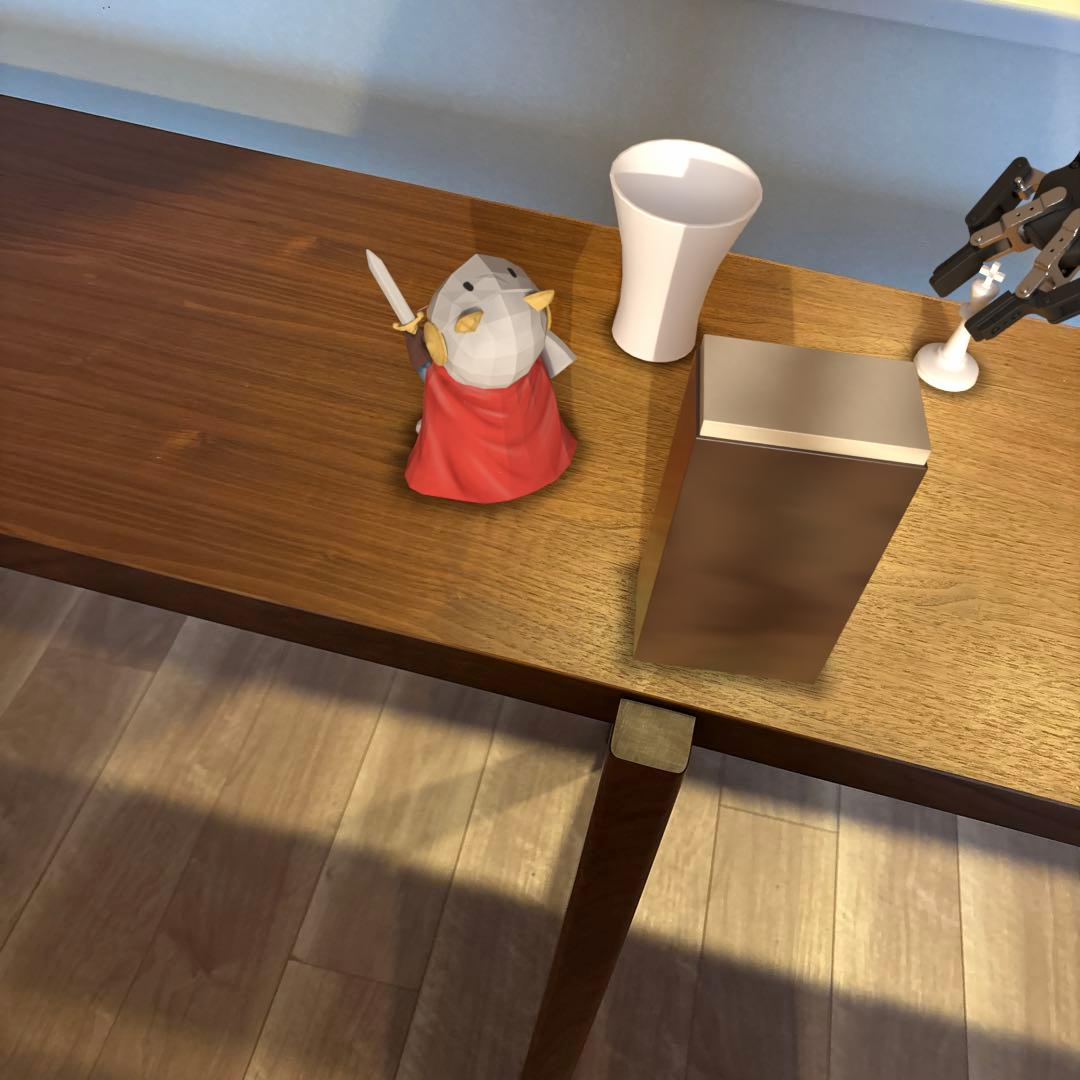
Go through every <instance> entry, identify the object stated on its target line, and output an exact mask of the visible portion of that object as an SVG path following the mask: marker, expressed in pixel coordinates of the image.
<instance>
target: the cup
mask: <svg viewBox="0 0 1080 1080" xmlns="http://www.w3.org/2000/svg"><path fill="white" fill-rule="evenodd" d="M609 180H610V185H611V190H612V196H613V201H614V206H615V207H614V208H615V212H616V218H617V224H618V231H619V236H620V243H621V264H622V265H621V267H622V278H621V286H620V287H621V288H620V295H619V296H620V297H619V301H618V305H617V308H616V312H615V315H614V318H613V322H612V326H611V333H612V337H613V340H614V341H615V342H616V344H617V345H618V347H620V348H621V350H623V351H624V352H626V353H627V354H629V355H630V356H632V357H635V358H637V359H640V360H643V361H647V362H652V363H669V362H674V361H678V360H679V359H682V358H684V357H686V356H687V355H689V354H690V353H691V352H692V351H693V349H694V348H695V345H696V341H697V340H696V339H697V331H698V325H699V324H698V323H699V317H700V314H701V310H702V308H703V306H704V302H705V300H706V299H705V298H706V296H707V293H708V290H709V288H710V286H711V283H712V282H713V279H714V277H715V275H716V274H717V271H718V269H719V267H720V265H721V263H722V262H723V261H724V259H725V258H726V256H727V255H728V253H729V252H730V251H731V248H732V247H733V246H734V244H735V243H736V241H737V239H738V238H739V236H740V235H741V234H742V232H743V231H744V229H745V227H746V226H747V225H748V223H749V222H750V221H751V220H752V218H753V216H754V214H755V213H756V212H757V211H758V209H759V208H760V205H761V204H762V202H763V192H764V190H763V189H764V188H763V186H762V184H761V182H760V178H759V176H758V175H757V173H756V172H755V171H754V170H753V169H752V168H751V167H750V165H748V164H747V163H746V162H745V161H743V160H742V159H740V158H739V157H738V156H736V155H734V154H732V153H731V152H729V151H727V150H724V149H722V148H720V147H717V146H714V145H711V144H708V143H706V142H701V141H695V140H689V139H684V138H660V139H652V140H645V141H643V142H640V143H639V142H638V143H636V144H633V145H631V146H630V147H628V148H627V149H624V150H623V151H622V152H620V153H619V154H618V155H617V156H616V158H615V159H614V160H613V161H612V163H611V167H610V171H609Z"/></svg>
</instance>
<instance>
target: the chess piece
mask: <svg viewBox="0 0 1080 1080" xmlns="http://www.w3.org/2000/svg"><path fill="white" fill-rule="evenodd" d="M1001 265H1002V263H1001V262H998V261H996V260H994V263H992V266H991V267H990V266H988V265H986V264H984V265H983V266H982V267H981V269H980V272H979V273H980V274H982V275H984V276H986V277H977V278H975V279H973V280H972V282H971V284H970V297H969V301H968V302H967V301H966V302H963V303H962V304H961V305H960V306H958V309H957V312H958V314H959V316H960V317H961V318H962V319H961V320H960V322H959V324H958V325H957V326H956V328H955V329H954V331H953V332H952V334H951V335H950V337H949V338H948V340H946V342H932V343H928V344H925V345H923V346H922V347H921V348H920V349H918V351H917V353H916V354H915V355H914V357H913V361H912V362H916V366H917V372H918V377H919V378H921V380H922V381H924V382H925V383H927V384H928V385H930V386H932V387H934V388H936V389H938V390H942V391H947V392H964V391H967V390H969V389H971V388H972V387H974V386H975V384H976V383H977V380H978V376H979V373H980V370H979V369H980V368H979V365H978V362H977V361H976V359H975V358H974V357H973V356H972V355H971V354H970V353H969V352H967V350H968V346H969V344H970V343H969V342H970V340H971V338H972V337H971V335H970V334H969V333H968V331H967V330H966V328H965V327H964V324H965V322H966V321H967V320H968V319H969V318H971V317H972V316H973V315H975V314H976V313H978V312H979V311H980V310H982V309H983V308H984V307H986V306H987V305H988V304H990V303H991V302H993V301H994V300H995V299H996V297H997V296H998V295H999V294H1000V292H1001V288H1000V286H999V285H998V283H1002V282H1003V281H1004V280H1005V277H1006V275H1007V274H1005V273H1003V272H1001V271H999V269H1000V267H1001ZM979 273H978V274H979ZM994 280H995V281H997V282H998V283H997V282H995V281H994Z"/></svg>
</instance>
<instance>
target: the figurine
mask: <svg viewBox="0 0 1080 1080" xmlns="http://www.w3.org/2000/svg"><path fill="white" fill-rule="evenodd" d="M365 254H366V259H367V265H368V268H369V270H370V272H371V274H372V275H373V277H374V279H375V280H376V282H377V283H378V285H379V287H380V290H382V292H383V294H384V296H385V297H386V299H387V301H388V302H389V304H390V306H391V307H392V309H393V311H394V313H395V314H396V316H397V317H398V320H399V321H400V322H398V321H394V322H393V323H392V328H393V329H394V330H396V331H401V332H402V335H403V337H404V338H405V343H406V349H407V353H408V358H409V362H410V365H411V366H412V369H413V370H414V372H415V373H417V374H418V375H419V377H420V378H421V380H422V381H423V382H424V385H423V400H422V401H423V402H422V413H421V419H419V420H418V421H417V422H416V425H415V432H416V433H417V438H416V440H415V443H414V445H413V447H412V449H411V451H410V453H409V455H407V456H408V457H407V461H406V466H405V471H404V478H405V480H406V483H407V485H408V487H409V488H410V489H411V490H413V491H415V492H417V493H418V494H421V495H425V496H432V497H436V498H437V497H438V498H444V499H451V500H456V501H463V502H469V503H477V504H484V505H485V504H493V503H500V502H501V503H503V502H508V501H511V500H515V499H518V498H520V497H523V496H527V495H530V494H533V493H535V492H537V491H538V490H540V489H542V488H544V487H546V486H548V485H550V484H551V483H553V482H555V481H556V480H557V479H558V478H559V477H560V476H561V475H562V474H563V473H564V471H566V470H567V469H568V468H569V466H570V465H571V464H572V460H573V459H574V455H575V453H576V450H577V447H578V444H579V442H578V440H577V439H576V438H575V437H574V435H573V434H572V432H571V431H570V430H569V428H568V427H567V426H566V424H565V423H564V421H563V418H562V416H561V413H560V410H559V408H558V402H557V398H556V394H555V391H554V387H553V384H552V379H554V378H555V377H556V376H557V375H558V374H560V373H561V372H563V371H564V370H565V369H566V368H567V367H568V366H570V365H571V364H572V363H573V362H574V361H576V360H578V356H577V355H575V353H574V352H573V351H572V350H571V349H570V348H569V346H568V345H566V343H565V342H564V341H563V340H561V338H559V337H558V336H557V335H556V334H555V333H554V332H552V330H551V325H552V312H551V309H550V305H551V304H552V303H553V300H554V296H555V289H551V288H547V289H544V290H540V289H539V288H538V287H537V286H536V284H535V283H534V281H532V279H531V278H530V277H529V276H528V275H527V273H526V272H525V271H524V269H523V268H522V267H520V266H518V265H517V264H515V263H513V262H511V261H509V260H507V259H506V258H503V257H497V256H494V255H493V256H492V255H487V254H480V253H475V254H473V255H472V256H471V257H469V258H468V259H466V260H464V262H463V263H462V264H461V265H459V266H458V267H457V268H456V269H455V270H454V271H452V273H450V274H449V275H448V276H447V277H446V278H445V279H444V280H443V281H442V283H441V284H440V285H439V286H438V288H437V289H436V290H435V291H434V293H433V295H432V296H431V299H430V301H429V303H428V305H426V306H424V307H421V308H420V309H419V310H418V311H417V310H415V311H414V312H412V310H411V308H410V306H409V304H408V302H407V301H406V299H405V298H404V296H403V294H402V292H401V291H400V289H399V288H398V286H397V284H396V282H395V280H394V279H393V277H392V275H391V273H390V272H389V271H388V269H387V267H386V265H385V264H384V262H383V260H382V259H381V258H379V256H377V255H376V254H375V253H374V252H373V251H372V250H370V249H367V248H366V250H365ZM424 309H426V318H427V319H426V320H424V321H422V319H423V318H424V316H425V312H424V311H423V310H424ZM416 312H417V313H416ZM414 313H416V316H417V317H415V315H414ZM420 321H422V323H421V324H418V323H419V322H420ZM423 324H424V325H423ZM421 325H423V326H421Z"/></svg>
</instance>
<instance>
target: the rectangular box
mask: <svg viewBox="0 0 1080 1080" xmlns="http://www.w3.org/2000/svg"><path fill="white" fill-rule="evenodd" d="M922 394H923V393H922V389H921V383H920V376H919V375H918V372H917V366H916V362H913V361H911V360H901V359H894V358H887V357H879V356H873V355H864V354H858V353H850V352H844V351H843V352H842V351H835V350H827V349H820V348H814V347H805V346H799V345H798V346H797V345H791V344H783V343H776V342H768V341H761V340H753V339H746V338H738V337H731V336H724V335H716V334H709V333H704V334H703V337H702V341H701V344H700V347H699V346H697V347H696V348H695V350H694V354H693V358H692V362H691V366H690V369H689V373H688V378H687V382H686V386H685V389H684V393H683V396H682V401H681V405H680V409H679V411H678V412H679V413H678V417H677V421H676V424H675V428H674V432H673V436H672V439H671V444H670V447H669V450H668V451H669V452H668V455H667V459H666V463H665V467H664V470H663V475H662V478H661V482H660V486H659V490H658V494H657V498H656V502H655V506H654V510H653V513H652V517H651V521H650V524H649V525H650V526H649V529H648V532H647V537H646V540H645V544H644V549H643V552H642V556H641V559H640V563H639V568H638V572H637V575H636V576H637V577H636V593H635V610H634V611H635V614H634V630H633V631H634V632H633V649H632V660H633V662H641V663H649V664H656V665H665V666H672V667H680V668H688V669H695V670H702V671H709V672H716V673H717V672H718V673H724V674H725V673H726V674H732V675H740V676H746V677H747V676H748V677H755V678H762V679H763V678H764V679H770V680H778V681H785V682H793V683H799V684H800V683H801V684H806V685H807V684H809V685H815V684H816V682H817V681H818V679H819V677H820V675H821V673H822V671H823V670H824V668H825V665H826V664H827V661H828V660H829V658H830V656H831V654H832V652H833V650H834V648H835V646H836V645H837V643H838V641H839V639H840V637H841V635H842V634H843V631H844V630H845V628H846V626H847V624H848V622H849V621H850V618H851V616H852V615H853V613H854V610H855V609H856V607H857V605H858V603H859V601H860V599H861V597H862V595H863V593H864V592H865V590H866V588H867V586H868V583H869V582H870V580H871V578H872V576H873V574H874V573H875V571H876V568H877V567H878V565H879V564H880V561H881V559H882V557H883V556H884V553H885V551H886V550H887V548H888V546H889V544H890V542H891V540H892V538H893V536H894V534H895V533H896V530H897V529H898V527H899V525H900V523H901V521H902V519H903V518H904V515H905V513H906V512H907V510H908V508H909V506H910V504H911V502H912V500H913V498H914V497H915V495H916V493H917V491H918V489H919V488H920V486H921V484H922V481H923V480H924V478H925V477H926V474H927V473H928V470H929V466H928V465H929V464H928V459H929V457H930V456H931V453H932V446H931V439H930V434H929V429H928V423H927V416H926V411H925V406H924V402H923V395H922Z"/></svg>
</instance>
